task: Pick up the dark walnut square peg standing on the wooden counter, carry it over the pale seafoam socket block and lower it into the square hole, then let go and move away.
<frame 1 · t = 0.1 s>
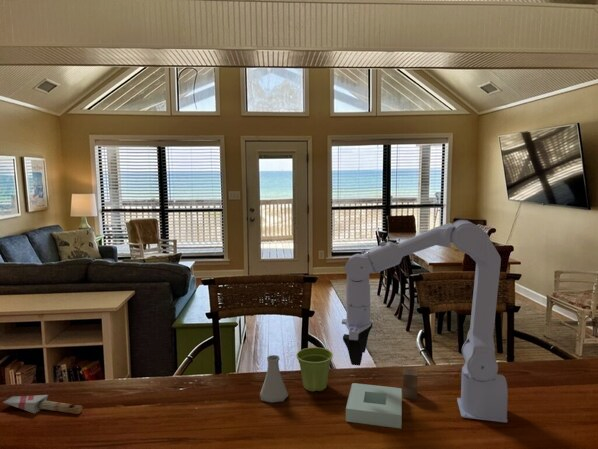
hand: (358, 358, 99), 10 cm above the counter, fingers open, 7 cm apart
socket block: (374, 410, 94), on the counter
flask: (273, 396, 101), on the counter
walnut peg: (409, 395, 101), on the counter
plant pot: (314, 387, 106), on the counter
grey and wooden tool: (43, 410, 97), on the counter
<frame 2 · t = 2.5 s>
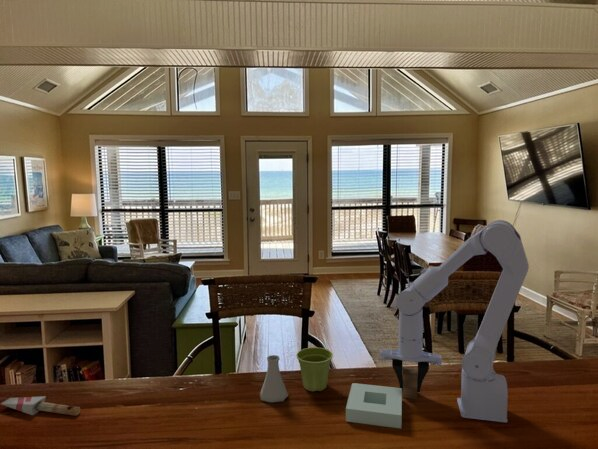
hand: (409, 389, 101), 1 cm above the counter, fingers closed on walnut peg, 3 cm apart
walnut peg: (409, 394, 101), on the counter, touching gripper
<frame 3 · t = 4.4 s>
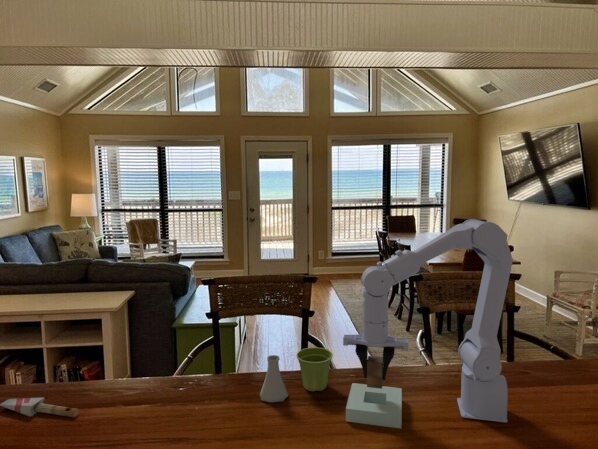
hand: (375, 377, 94), 8 cm above the counter, fingers closed on walnut peg, 3 cm apart
walnut peg: (375, 384, 94), point 6 cm above the counter, touching gripper
when the fingers open (3 cm above the counter, at t = 6.1 s): walnut peg drops 2 cm, resting in socket block.
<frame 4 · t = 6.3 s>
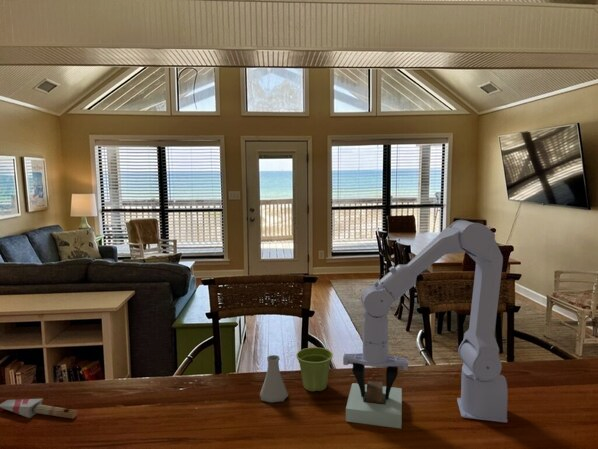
hand: (375, 396, 94), 3 cm above the counter, fingers open, 5 cm apart
walnut peg: (375, 409, 94), resting in socket block
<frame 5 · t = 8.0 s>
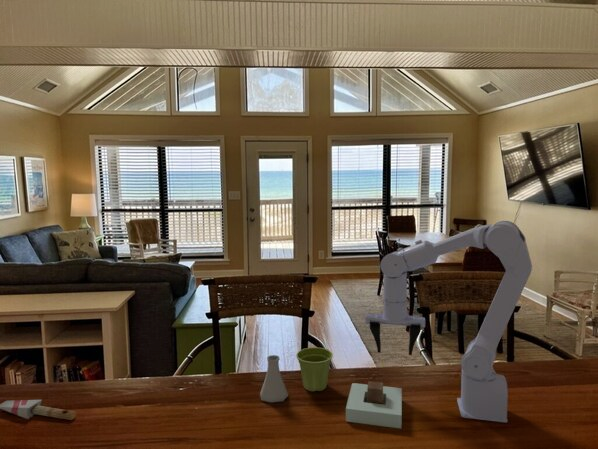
hand: (394, 352, 103), 10 cm above the counter, fingers open, 7 cm apart
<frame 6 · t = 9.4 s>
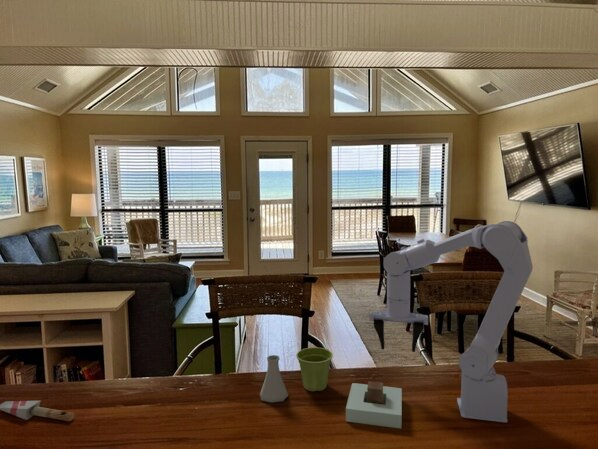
hand: (398, 349, 105), 10 cm above the counter, fingers open, 7 cm apart
at the end: walnut peg 0.2 cm off-centre on the socket block, point 0.0 cm above the socket block's base; walnut peg tilted 0°; the gripper is holding nothing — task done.
